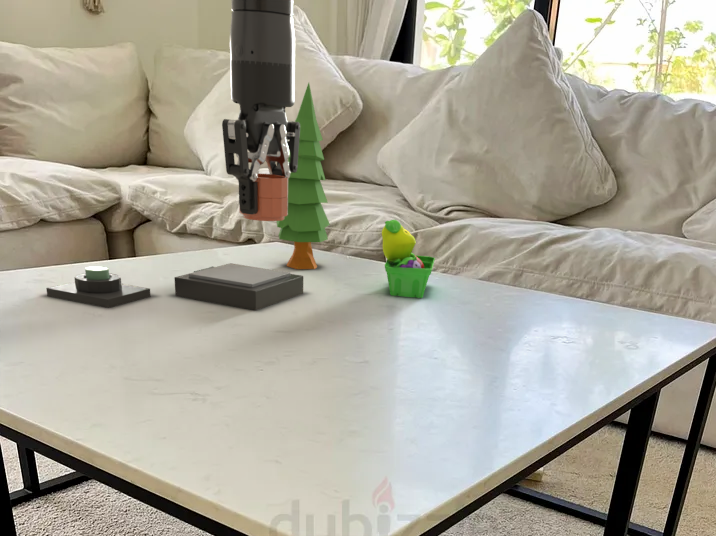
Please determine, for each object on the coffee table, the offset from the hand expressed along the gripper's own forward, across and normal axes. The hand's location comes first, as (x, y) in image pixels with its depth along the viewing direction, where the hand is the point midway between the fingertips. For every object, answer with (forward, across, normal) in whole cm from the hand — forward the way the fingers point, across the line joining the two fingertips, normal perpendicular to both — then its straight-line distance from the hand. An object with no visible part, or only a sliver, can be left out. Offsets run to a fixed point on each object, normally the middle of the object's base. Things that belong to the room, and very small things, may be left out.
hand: (263, 210), depth 99 cm
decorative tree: (+15, +38, +16) cm, 44 cm away
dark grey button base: (+15, -2, +27) cm, 30 cm away
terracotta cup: (+1, 0, 0) cm, 1 cm away
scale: (+15, +12, +12) cm, 22 cm away
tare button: (+12, -2, +27) cm, 29 cm away
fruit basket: (+15, +32, -7) cm, 36 cm away
